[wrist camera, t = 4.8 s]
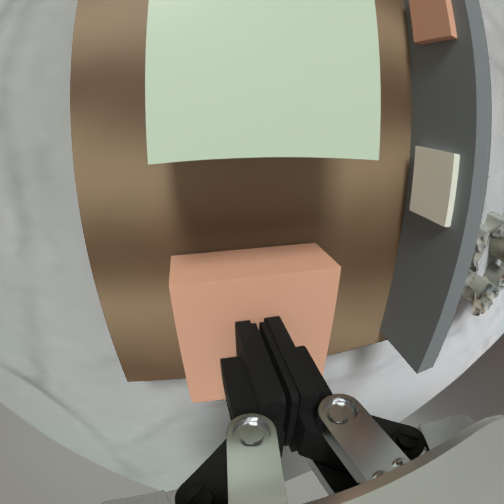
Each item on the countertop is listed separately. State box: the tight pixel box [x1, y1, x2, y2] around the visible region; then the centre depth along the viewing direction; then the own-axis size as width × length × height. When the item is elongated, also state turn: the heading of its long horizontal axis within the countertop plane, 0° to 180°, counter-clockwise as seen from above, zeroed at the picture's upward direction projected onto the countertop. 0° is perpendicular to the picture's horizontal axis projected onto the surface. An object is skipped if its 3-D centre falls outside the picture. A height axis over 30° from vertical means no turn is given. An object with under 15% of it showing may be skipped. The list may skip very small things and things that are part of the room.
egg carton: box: [462, 212, 504, 316], centre depth 19 cm, size 11×8×4 cm
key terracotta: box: [169, 243, 341, 403], centre depth 12 cm, size 6×6×2 cm
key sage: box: [145, 0, 381, 165], centre depth 7 cm, size 6×6×2 cm
